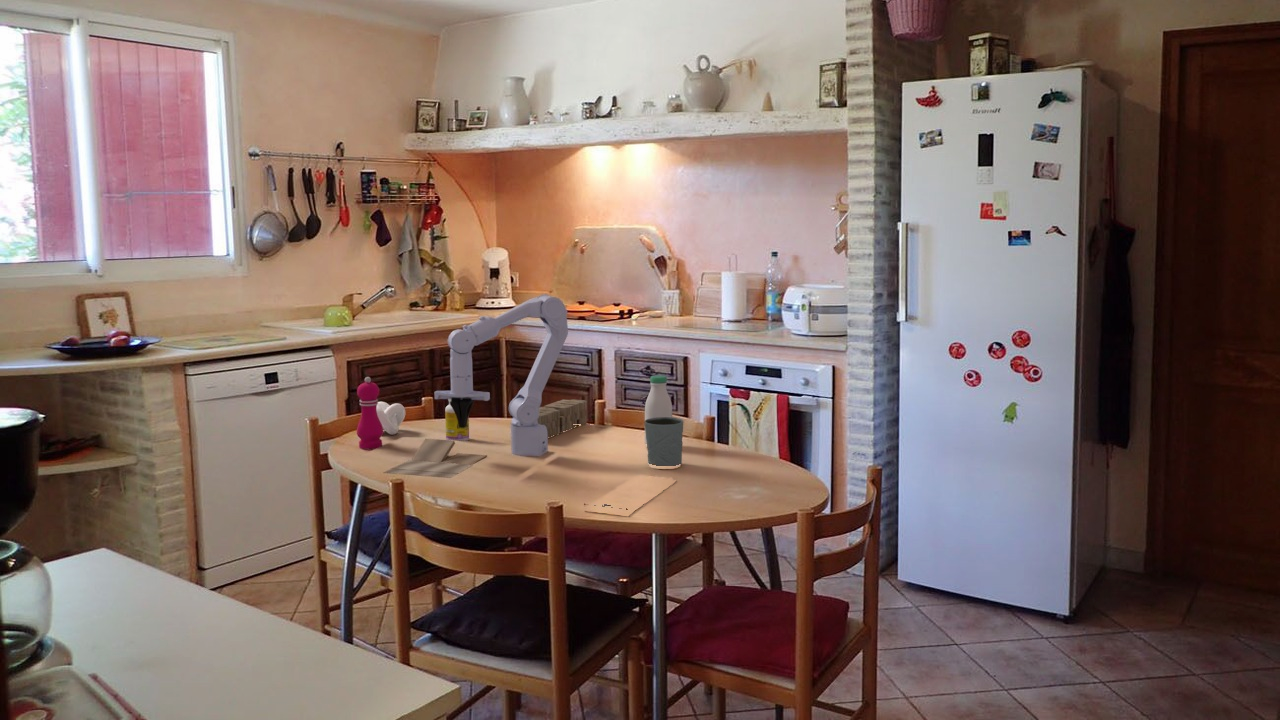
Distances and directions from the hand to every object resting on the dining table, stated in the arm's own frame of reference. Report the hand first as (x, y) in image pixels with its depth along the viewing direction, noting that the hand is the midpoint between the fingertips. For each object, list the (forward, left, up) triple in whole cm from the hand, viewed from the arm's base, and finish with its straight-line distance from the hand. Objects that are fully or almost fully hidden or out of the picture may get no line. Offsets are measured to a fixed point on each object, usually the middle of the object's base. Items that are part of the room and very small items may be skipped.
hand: (462, 426), depth 271 cm
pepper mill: (+33, -8, -10) cm, 35 cm away
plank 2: (-1, +1, -9) cm, 9 cm away
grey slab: (+4, +13, -10) cm, 16 cm away
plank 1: (+8, +1, -7) cm, 11 cm away
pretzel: (+39, -25, -10) cm, 47 cm away
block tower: (-10, -40, -10) cm, 42 cm away
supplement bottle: (+13, -22, -10) cm, 27 cm away
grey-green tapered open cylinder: (-52, -10, -10) cm, 54 cm away
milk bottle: (-45, -30, -10) cm, 55 cm away
